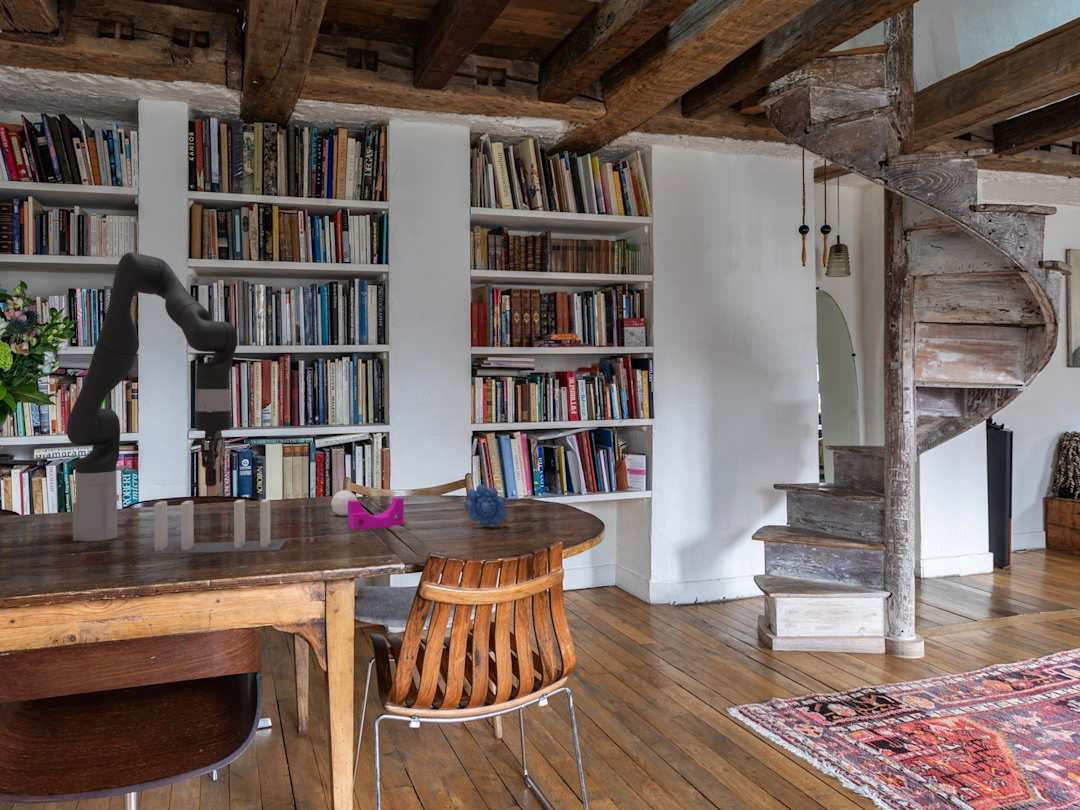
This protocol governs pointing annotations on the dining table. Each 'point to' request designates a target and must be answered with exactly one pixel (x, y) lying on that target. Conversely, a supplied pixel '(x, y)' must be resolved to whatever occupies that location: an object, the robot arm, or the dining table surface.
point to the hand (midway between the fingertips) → (213, 483)
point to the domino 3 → (216, 489)
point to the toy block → (366, 521)
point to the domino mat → (213, 548)
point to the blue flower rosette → (485, 506)
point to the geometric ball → (342, 502)
